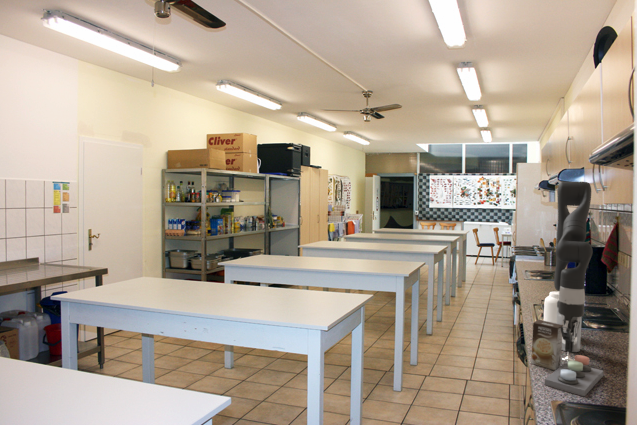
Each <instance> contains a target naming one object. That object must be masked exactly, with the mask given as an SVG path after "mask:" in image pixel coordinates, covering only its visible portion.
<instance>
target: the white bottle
mask: <svg viewBox="0 0 637 426" xmlns="http://www.w3.org/2000/svg"><path fill="white" fill-rule="evenodd" d="M548 294H549V295H547V296H546V297H545V299H544V305H543V321H547V322H552V323H556V320H557V302H558V300H559V291H557V290H554V291H550V292H549V293H548Z"/></svg>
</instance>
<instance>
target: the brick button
mask: <svg viewBox="0 0 637 426" xmlns="http://www.w3.org/2000/svg"><path fill="white" fill-rule="evenodd" d="M573 359H574V361H578V362H581V363H583V365H587V366H589V365H590V358H589V357H588V356H585V355H583V354H582V355H581V354H580V355H579V354H576V355H574V358H573Z"/></svg>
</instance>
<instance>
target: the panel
mask: <svg viewBox="0 0 637 426" xmlns="http://www.w3.org/2000/svg"><path fill="white" fill-rule="evenodd" d="M562 369H567V370H571V369H569V368H568V361H566V362H564V363H563V364H561V366H560V367H559V368H558V369H556V370H553V372H552V373H550V374H549V375H548V376H546V377H545V378H544V385H545V386H548V387H551V388H554V389H557V390H560V391H564V392H567V393H568V392H569V393H572V394H575V395H578V396H582V397H586V396H587V395H588V393H589V392H590V391H592V389H593V388H594V387H595V385H597V383H599V382H600V380H601V379H602V378H603V377H604V370H602V369H598V368H595V367H591V366H589V365H583V371H574V370H572V371H574V372H576V380H574V381H570V380H565V379H563V378H561V377H560V372H561V370H562Z"/></svg>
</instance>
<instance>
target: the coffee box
mask: <svg viewBox="0 0 637 426" xmlns="http://www.w3.org/2000/svg"><path fill="white" fill-rule="evenodd" d="M561 327H563V325H560V324H556V323H552V322H547V321H544V319H543V320H542V319H537V320H536V321H534V322H533V323H532V340H531V356H530V357H531V360H530V364H532V365H536V366H539V367H542V368H545V369H549V370H553V371H555V370H557V369H558V368H559V367H560V366H562V363H561V362H562V359H561V358H562V351H563V350H562V333H561Z"/></svg>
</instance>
